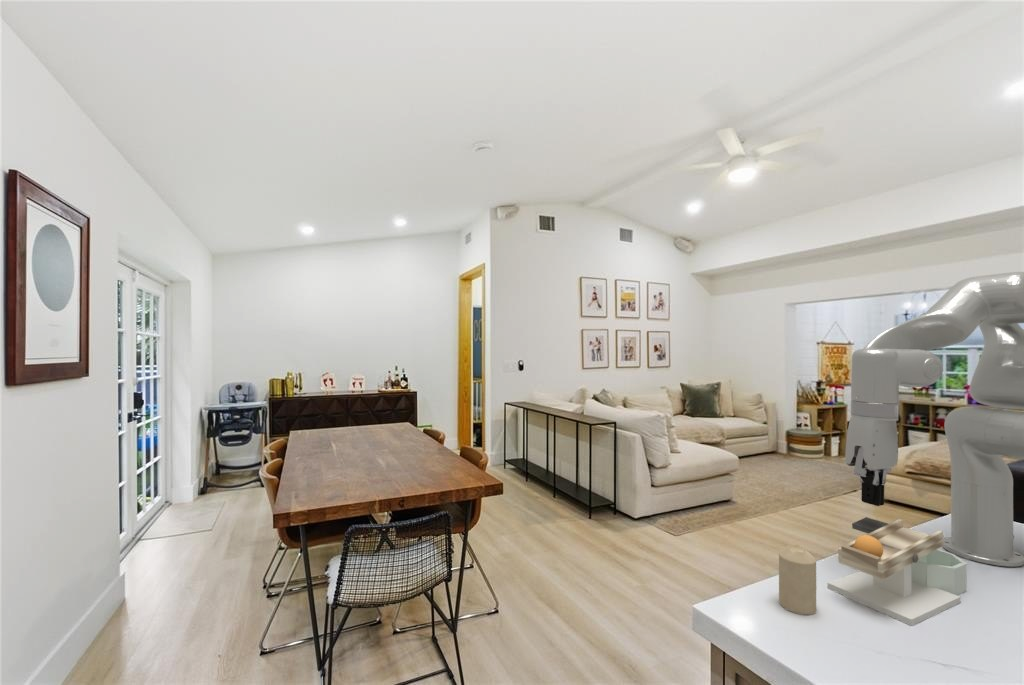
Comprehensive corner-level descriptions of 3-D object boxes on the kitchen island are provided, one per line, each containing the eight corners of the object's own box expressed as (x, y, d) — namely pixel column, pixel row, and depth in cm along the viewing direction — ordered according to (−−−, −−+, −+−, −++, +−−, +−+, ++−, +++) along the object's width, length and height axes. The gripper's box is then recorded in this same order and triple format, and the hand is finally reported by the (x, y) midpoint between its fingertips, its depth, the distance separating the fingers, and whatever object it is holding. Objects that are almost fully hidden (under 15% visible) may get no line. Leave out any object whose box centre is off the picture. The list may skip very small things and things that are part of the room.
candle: (822, 617, 78) (822, 556, 78) (785, 613, 79) (785, 553, 79) (808, 599, 83) (808, 542, 83) (774, 596, 84) (774, 540, 84)
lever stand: (876, 570, 94) (876, 536, 94) (960, 602, 82) (960, 563, 82) (827, 587, 87) (827, 551, 87) (911, 625, 75) (911, 583, 75)
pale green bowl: (909, 564, 96) (909, 539, 96) (974, 587, 87) (974, 560, 87) (881, 574, 92) (881, 549, 92) (947, 600, 83) (947, 571, 83)
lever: (868, 522, 97) (867, 507, 97) (945, 546, 86) (944, 528, 85) (807, 550, 88) (806, 533, 88) (884, 580, 77) (882, 561, 77)
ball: (863, 549, 84) (861, 528, 84) (889, 558, 81) (886, 536, 80) (851, 558, 83) (848, 536, 82) (876, 568, 79) (873, 545, 79)
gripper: (874, 407, 100) (872, 494, 100) (831, 409, 93) (829, 502, 93) (916, 412, 93) (915, 505, 93) (873, 415, 87) (872, 514, 86)
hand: (872, 503), depth 93 cm, fingers closed
